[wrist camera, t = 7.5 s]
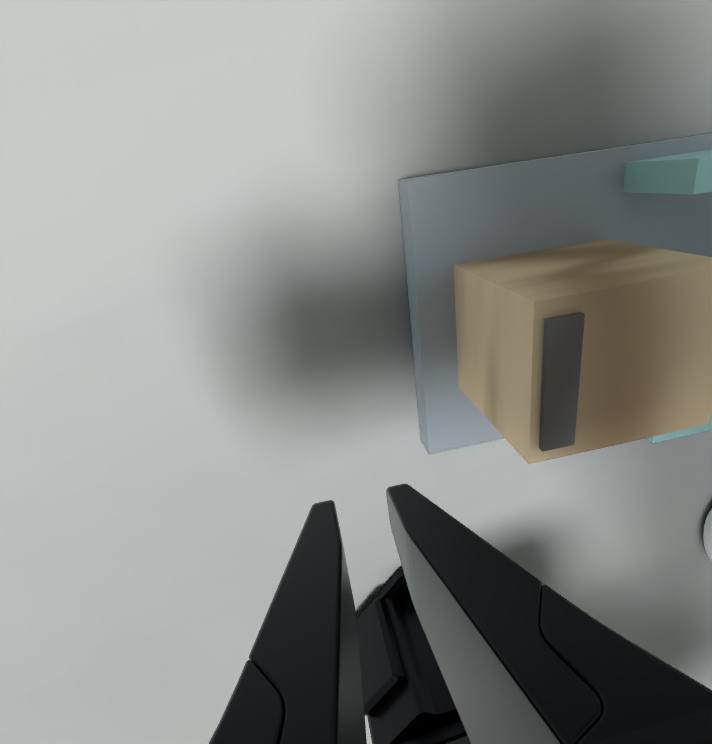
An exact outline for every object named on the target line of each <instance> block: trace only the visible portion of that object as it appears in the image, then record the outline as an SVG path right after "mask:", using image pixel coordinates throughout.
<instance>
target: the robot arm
mask: <svg viewBox="0 0 712 744" xmlns="http://www.w3.org/2000/svg"><path fill="white" fill-rule="evenodd" d="M386 495H387V503H388V510H389V518H390V524H391V529H392V533H393V536H394V540H395V543H396V547H397V550H398V554H399V557H400V561H401V564H402V568H403V569H401V570H399V571H398V572H397V573H396V574H395V575H394V576H393V577H392V578H391V580H390V581H389V582H388V583H387V584H386V585H385V587H384V588H383V589H382V590H381V591H380V592H379V594H378V595H377V596H376V597H375V598H374V599H373V601H372V602H371V603H370V604H369V605H368V606H367V608H366V609H365V610H364V611H363V612H362V613H361V615H360V616H359V617H358V618H356V611H355V605H354V600H353V595H352V590H351V585H350V579H349V574H348V569H347V564H346V559H345V553H344V548H343V543H342V538H341V533H340V528H339V523H338V518H337V513H336V508H335V503H334V501H332V500H329V501H324V502H320V503H316V504H314V505H313V506H312V508H311V510H310V512H309V515H308V517H307V519H306V522H305V524H304V526H303V529H302V531H301V534H300V536H299V538H298V541H297V543H296V545H295V548H294V550H293V553H292V555H291V557H290V560H289V562H288V564H287V567H286V569H285V572H284V574H283V576H282V579H281V581H280V583H279V586H278V588H277V591H276V593H275V595H274V598H273V600H272V603H271V605H270V607H269V610H268V612H267V614H266V617H265V619H264V622H263V624H262V626H261V629H260V631H259V633H258V636H257V638H256V641H255V643H254V645H253V648H252V650H251V652H250V655H249V660H248V661H247V662H246V664H245V666H244V669H243V671H242V673H241V676H240V678H239V681H238V683H237V685H236V688H235V690H234V692H233V694H232V696H231V699H230V701H229V703H228V705H227V707H226V710H225V712H224V714H223V716H222V718H221V721H220V723H219V725H218V726H217V728H216V730H215V732H214V734H213V736H212V738H211V740H210V742H209V744H367V743H366V730H365V716H364V715H366V716H367V717H368V722H369V728H370V733H371V739H372V744H712V690H710V689H709V688H707V687H705V686H704V685H702V684H700V683H699V682H697V681H695V680H694V679H692V678H690V677H689V676H687V675H685V674H684V673H682V672H680V671H679V670H677V669H675V668H674V667H672V666H670V665H669V664H667V663H665V662H664V661H662V660H660V659H659V658H657V657H655V656H654V655H652V654H650V653H649V652H647V651H645V650H644V649H642V648H640V647H639V646H637V645H635V644H634V643H632V642H631V641H629V640H627V639H626V638H624V637H623V636H621V635H619V634H618V633H616V632H615V631H613V630H611V629H610V628H608V627H607V626H605V625H603V624H602V623H600V622H599V621H597V620H595V619H594V618H593V617H591V616H590V615H588V614H587V613H585V612H584V611H582V610H581V609H580V608H578V607H577V606H575V605H574V604H572V603H571V602H569V601H568V600H566V599H565V598H564V597H562V596H561V595H559V594H558V593H557V592H555V591H554V590H553V589H551V588H550V587H548V586H547V585H545V584H544V585H542V582H541V581H540V580H539V579H537V578H536V577H534V576H533V575H532V574H530V573H529V572H528V571H526V570H525V569H523V568H522V567H521V566H519V565H518V564H517V563H515V562H514V561H512V560H511V559H510V558H508V557H507V556H506V555H504V554H503V553H501V552H500V551H499V550H497V549H496V548H495V547H493V546H492V545H490V544H489V543H488V542H486V541H485V540H484V539H482V538H481V537H479V536H478V535H477V534H475V533H474V532H473V531H471V530H470V529H468V528H467V527H466V526H464V525H463V524H462V523H460V522H459V521H457V520H456V519H455V518H453V517H452V516H451V515H449V514H448V513H446V512H445V511H444V510H442V509H441V508H440V507H438V506H437V505H435V504H434V503H433V502H431V501H430V500H429V499H427V498H426V497H424V496H423V495H422V494H420V493H419V492H417V491H416V490H415V489H413V488H412V487H411V486H409V485H408V484H401V485H396V486H392V487H388V488H387V491H386Z"/></svg>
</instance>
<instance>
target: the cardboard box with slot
mask: <svg viewBox="0 0 712 744" xmlns="http://www.w3.org/2000/svg"><path fill="white" fill-rule="evenodd" d="M454 287H455V311H456V335H457V359H458V382H459V388H460V389H461V391H462V392H463V393H464V394H465V395H466V396H467V397H468V398H469V399H470V400H471V402H472V403H473V404H474V405H475V406H476V407H477V408H478V409H479V410H480V411H481V412H482V414H483V415H484V416H485V417H486V418H487V419H488V420H489V421H490V422H491V423H492V425H493V426H494V427H495V428H496V429H497V430H498V431H499V432H500V433H501V434H502V435H503V437H504V438H505V439H506V440H507V441H508V442H509V443H510V444H511V445H512V446H513V448H514V449H515V450H516V451H517V452H518V453H519V454H520V455H521V456H522V457H523V458H524V460H525V461H526V462H527V463H528V464H532V463H537V462H541V461H546V460H550V459H555V458H559V457H564V456H568V455H572V454H577V453H581V452H586V451H590V450H595V449H599V448H604V447H608V446H613V445H617V444H621V443H626V442H630V441H635V440H639V439H644V438H648V437H653V436H657V435H662V434H666V433H671V432H675V431H679V430H684V429H688V428H693V427H697V426H702V425H706V424H709V422H710V417H711V413H712V257H707V256H701V255H696V254H690V253H684V252H678V251H672V250H667V249H661V248H655V247H649V246H643V245H637V244H632V243H626V242H620V241H614V240H608V239H602V240H596V241H591V242H585V243H579V244H573V245H567V246H561V247H556V248H550V249H544V250H538V251H532V252H526V253H520V254H515V255H509V256H503V257H497V258H491V259H485V260H479V261H474V262H468V263H462V264H456V265H454Z"/></svg>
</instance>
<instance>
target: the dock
mask: <svg viewBox="0 0 712 744" xmlns="http://www.w3.org/2000/svg"><path fill="white" fill-rule="evenodd" d="M398 183H399V195H400V206H401V218H402V230H403V241H404V253H405V264H406V276H407V288H408V299H409V311H410V322H411V334H412V346H413V357H414V369H415V380H416V392H417V404H418V415H419V427H420V439H421V442H422V443H423V445H424V447H425V448H426V450H427V452H428V454H434V453H439V452H443V451H448V450H452V449H457V448H462V447H466V446H471V445H475V444H480V443H485V442H489V441H494V440H498V439H503V438H504V437H503V435H502V434H501V433H500V432H499V431H498V430H497V429H496V428H495V427H494V426H493V425H492V423H491V422H490V421H489V420H488V419H487V418H486V417H485V416H484V415H483V414H482V412H481V411H480V410H479V409H478V408H477V407H476V406H475V405H474V404H473V403H472V402H471V400H470V399H469V398H468V397H467V396H466V395H465V394H464V393H463V392H462V391H461V389H460V388H459V382H458V359H457V335H456V311H455V287H454V265H456V264H462V263H468V262H474V261H479V260H485V259H491V258H497V257H503V256H509V255H515V254H520V253H526V252H532V251H538V250H544V249H550V248H556V247H561V246H567V245H573V244H579V243H585V242H591V241H596V240H602V239H608V240H614V241H620V242H626V243H632V244H637V245H643V246H649V247H655V248H661V249H667V250H672V251H678V252H684V253H690V254H696V255H701V256H707V257H712V133H709V134H702V135H695V136H688V137H682V138H675V139H668V140H662V141H655V142H648V143H641V144H635V145H628V146H621V147H615V148H608V149H601V150H594V151H588V152H581V153H574V154H568V155H561V156H554V157H547V158H541V159H534V160H527V161H521V162H514V163H507V164H500V165H494V166H487V167H480V168H474V169H467V170H460V171H453V172H447V173H440V174H433V175H427V176H420V177H413V178H406V179H400V180H398ZM709 430H712V413H711V417H710V422H709V424H706V425H702V426H697V427H693V428H688V429H684V430H679V431H675V432H671V433H666V434H662V435H657V436H653V437H648V438H645V439H647V440H648V441H650V442H651V443H656V442H661V441H665V440H669V439H674V438H678V437H683V436H687V435H692V434H696V433H700V432H705V431H709Z"/></svg>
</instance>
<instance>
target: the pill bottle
mask: <svg viewBox="0 0 712 744" xmlns="http://www.w3.org/2000/svg"><path fill="white" fill-rule="evenodd" d="M703 540H704V547H705V550H706V553H707V555H708V557H709V559H710V560H711V561H712V509H711V510H710V512H709V514H708V516H707V518H706V521H705V525H704V534H703Z"/></svg>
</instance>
